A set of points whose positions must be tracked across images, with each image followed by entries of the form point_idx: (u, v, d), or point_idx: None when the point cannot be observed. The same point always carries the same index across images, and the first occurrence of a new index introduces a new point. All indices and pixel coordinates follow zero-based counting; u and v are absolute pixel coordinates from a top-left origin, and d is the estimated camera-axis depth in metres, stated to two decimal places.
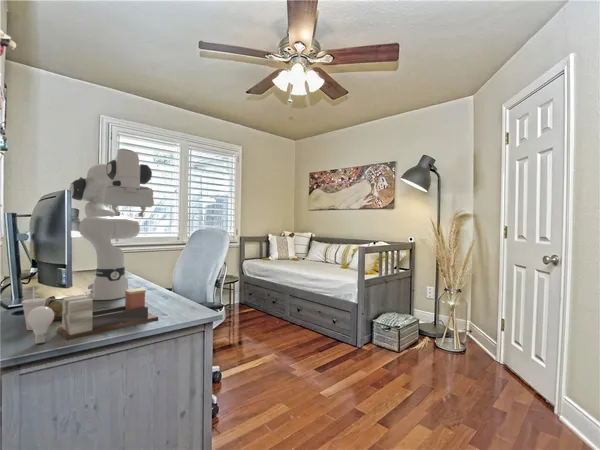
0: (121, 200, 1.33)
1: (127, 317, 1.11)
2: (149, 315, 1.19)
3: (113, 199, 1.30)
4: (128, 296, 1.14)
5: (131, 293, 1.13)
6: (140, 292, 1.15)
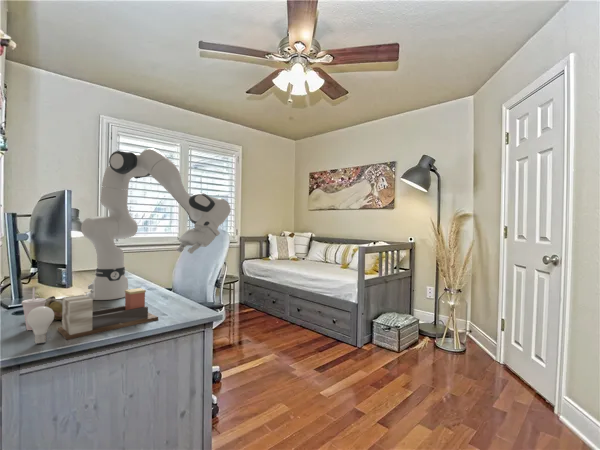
0: None
1: (127, 317, 1.11)
2: (149, 315, 1.19)
3: None
4: (128, 296, 1.14)
5: (131, 293, 1.13)
6: (140, 292, 1.15)
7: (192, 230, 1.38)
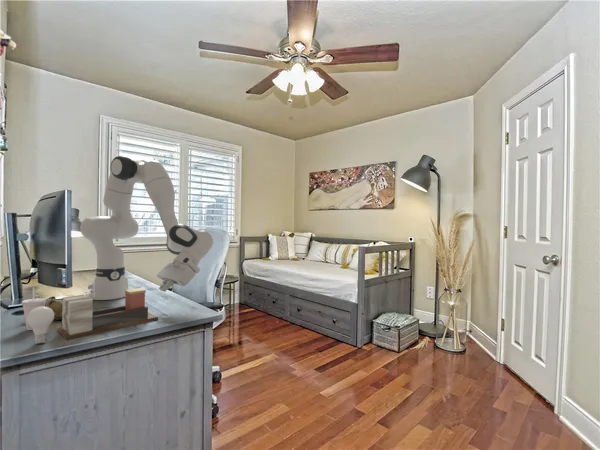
0: None
1: (127, 317, 1.11)
2: (149, 315, 1.19)
3: None
4: (128, 296, 1.14)
5: (131, 293, 1.13)
6: (140, 292, 1.15)
7: (171, 265, 1.31)
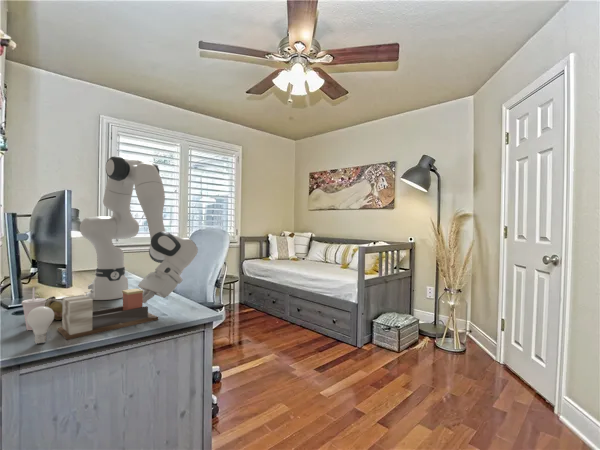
0: None
1: (127, 317, 1.11)
2: (149, 315, 1.19)
3: None
4: (125, 296, 1.14)
5: (129, 293, 1.13)
6: (138, 292, 1.15)
7: (153, 275, 1.26)
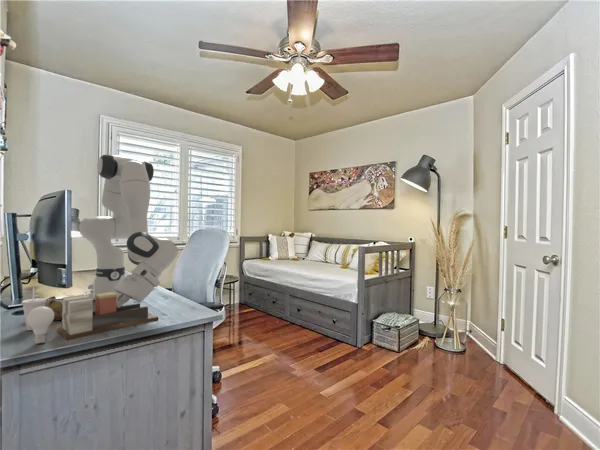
0: None
1: (127, 317, 1.11)
2: (149, 315, 1.19)
3: None
4: (98, 301, 1.07)
5: (101, 298, 1.06)
6: (111, 296, 1.08)
7: (130, 277, 1.19)
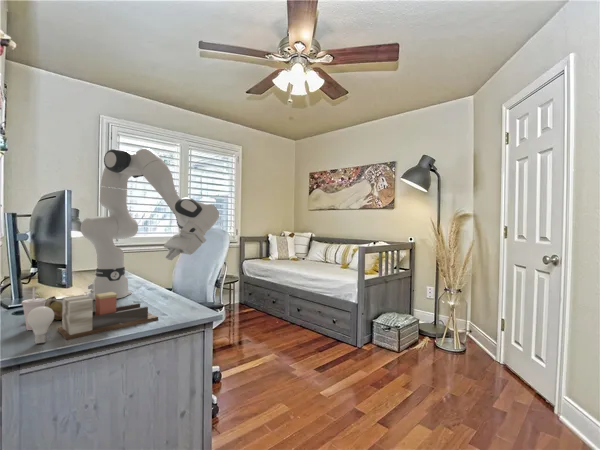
0: None
1: (127, 317, 1.11)
2: (149, 315, 1.19)
3: None
4: (98, 301, 1.07)
5: (101, 298, 1.06)
6: (111, 296, 1.08)
7: (178, 236, 1.33)
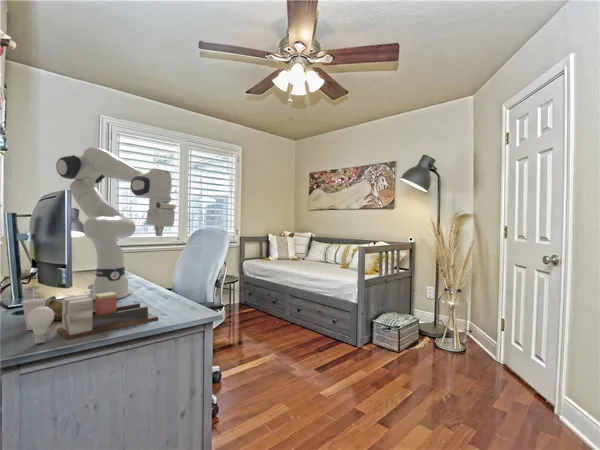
0: None
1: (127, 317, 1.11)
2: (149, 315, 1.19)
3: None
4: (98, 301, 1.07)
5: (101, 298, 1.06)
6: (111, 296, 1.08)
7: (151, 211, 1.40)
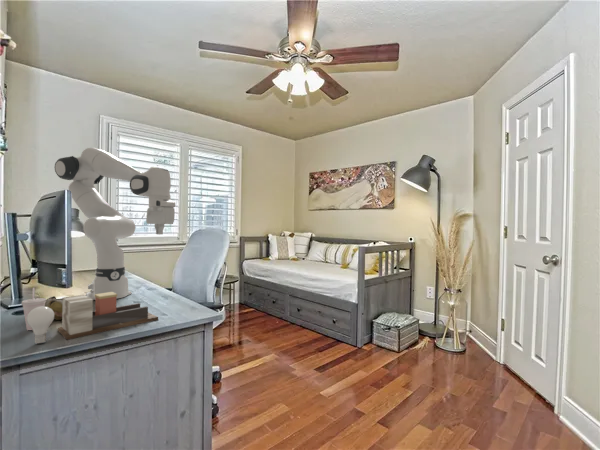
0: None
1: (127, 317, 1.11)
2: (149, 315, 1.19)
3: None
4: (98, 301, 1.07)
5: (101, 298, 1.06)
6: (111, 296, 1.08)
7: (151, 210, 1.41)
